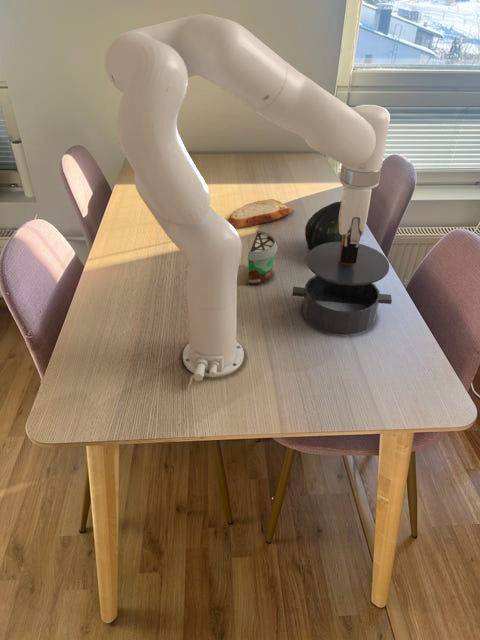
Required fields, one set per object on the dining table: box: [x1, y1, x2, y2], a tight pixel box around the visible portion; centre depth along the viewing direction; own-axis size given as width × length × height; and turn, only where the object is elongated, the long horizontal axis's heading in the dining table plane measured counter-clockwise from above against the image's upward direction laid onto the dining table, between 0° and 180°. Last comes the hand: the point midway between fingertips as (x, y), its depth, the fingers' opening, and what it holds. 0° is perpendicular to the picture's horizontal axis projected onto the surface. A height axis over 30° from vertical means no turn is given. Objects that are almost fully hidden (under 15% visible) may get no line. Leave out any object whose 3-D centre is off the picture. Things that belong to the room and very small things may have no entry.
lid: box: [306, 230, 390, 285], centre depth 109 cm, size 18×18×8 cm
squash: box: [304, 200, 361, 252], centre depth 139 cm, size 14×15×15 cm
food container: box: [247, 229, 278, 286], centre depth 129 cm, size 12×6×10 cm, turn 168°
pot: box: [291, 274, 393, 335], centre depth 117 cm, size 17×22×6 cm
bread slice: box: [228, 198, 293, 229], centre depth 158 cm, size 18×18×4 cm
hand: (347, 256), depth 110 cm, fingers closed on lid, 3 cm apart
